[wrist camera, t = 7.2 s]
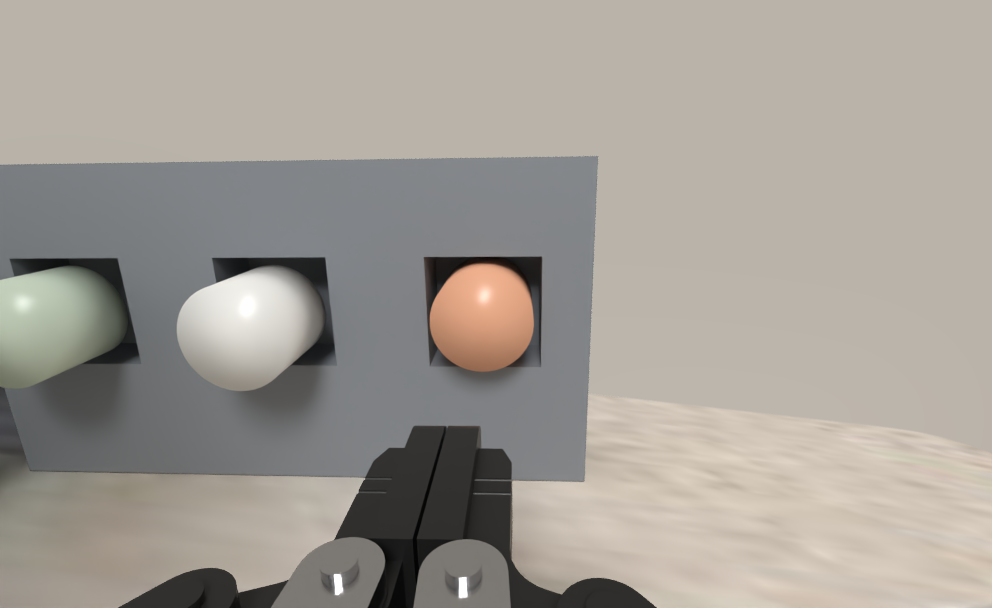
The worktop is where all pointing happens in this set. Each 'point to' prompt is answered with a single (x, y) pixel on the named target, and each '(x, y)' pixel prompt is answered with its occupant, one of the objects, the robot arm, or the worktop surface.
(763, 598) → the worktop surface
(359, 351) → the grey button panel
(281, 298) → the white button
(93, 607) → the worktop surface
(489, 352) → the peach round button
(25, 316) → the sage button
